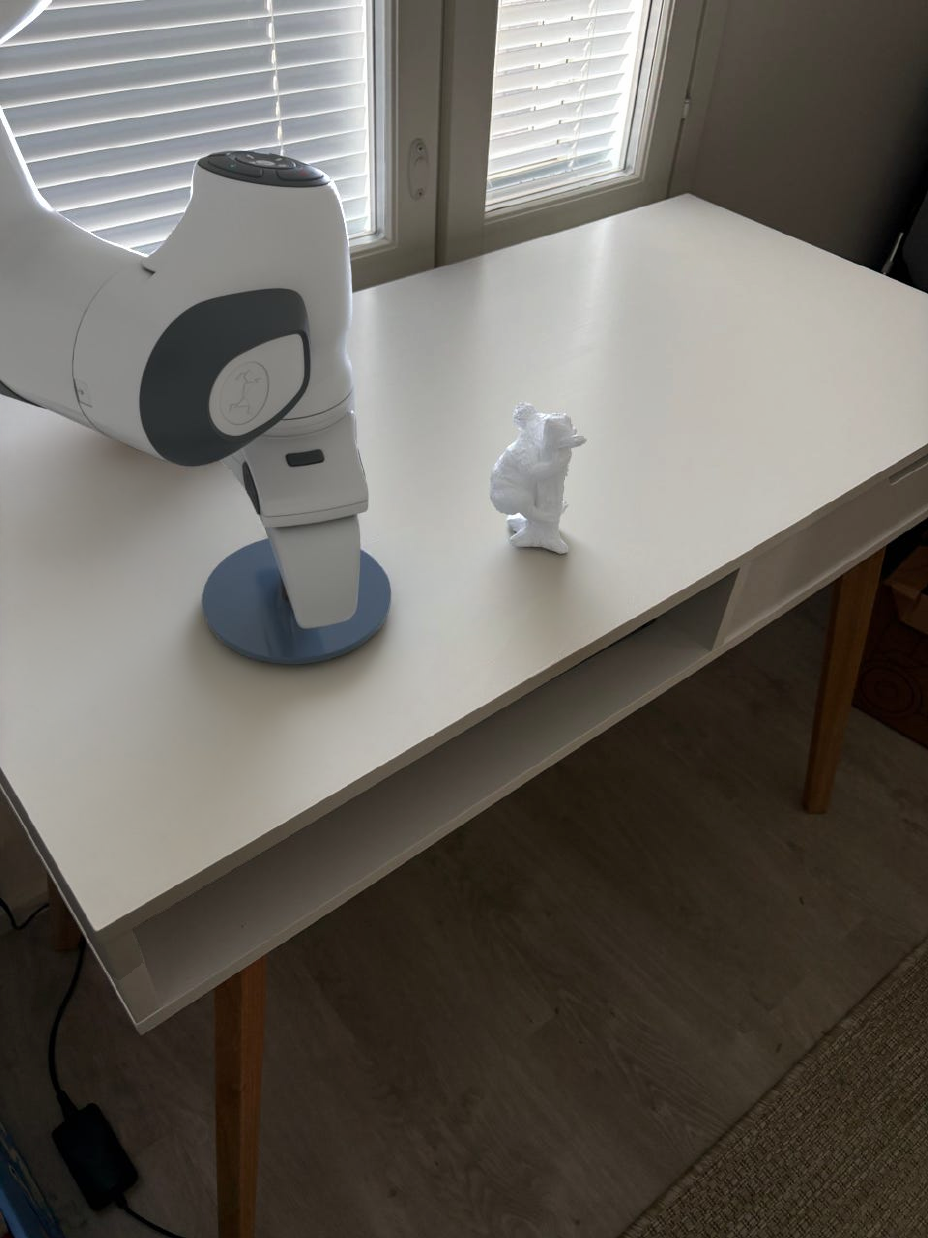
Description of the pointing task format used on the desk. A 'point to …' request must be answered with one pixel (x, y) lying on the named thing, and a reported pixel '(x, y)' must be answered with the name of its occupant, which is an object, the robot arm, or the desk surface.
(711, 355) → the desk surface
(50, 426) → the desk surface
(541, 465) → the koala figurine
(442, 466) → the desk surface
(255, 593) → the lid
